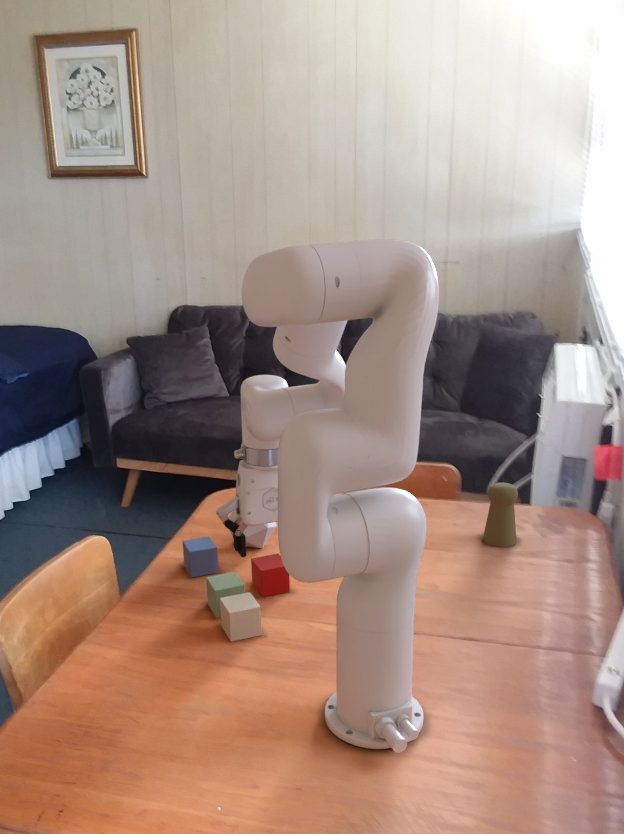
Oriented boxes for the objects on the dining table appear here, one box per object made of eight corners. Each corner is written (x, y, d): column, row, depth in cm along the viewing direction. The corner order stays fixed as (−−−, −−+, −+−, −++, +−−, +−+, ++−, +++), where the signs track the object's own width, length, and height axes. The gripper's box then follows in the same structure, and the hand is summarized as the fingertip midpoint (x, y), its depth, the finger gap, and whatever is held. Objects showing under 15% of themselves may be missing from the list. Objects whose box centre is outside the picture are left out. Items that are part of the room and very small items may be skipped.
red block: (289, 592, 141) (289, 565, 139) (261, 597, 140) (260, 570, 138) (279, 579, 146) (278, 553, 144) (252, 584, 144) (250, 558, 142)
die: (227, 538, 164) (212, 512, 156) (262, 509, 166) (249, 482, 158) (253, 565, 159) (239, 540, 151) (289, 535, 161) (277, 509, 153)
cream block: (261, 635, 129) (260, 606, 127) (230, 642, 127) (229, 613, 126) (251, 619, 133) (249, 591, 131) (221, 626, 132) (219, 597, 130)
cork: (482, 545, 155) (485, 489, 151) (483, 531, 160) (486, 478, 156) (516, 548, 153) (521, 492, 149) (516, 534, 158) (520, 480, 155)
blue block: (218, 572, 149) (217, 547, 147) (191, 577, 147) (189, 552, 146) (210, 560, 153) (209, 536, 152) (184, 565, 152) (182, 540, 150)
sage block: (246, 612, 135) (244, 584, 134) (216, 618, 134) (214, 590, 132) (236, 598, 140) (235, 571, 138) (207, 604, 138) (205, 577, 137)
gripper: (221, 468, 129) (226, 567, 135) (325, 452, 134) (325, 549, 140) (207, 453, 135) (212, 548, 141) (306, 438, 140) (307, 531, 146)
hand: (268, 548), depth 141 cm, fingers open, 9 cm apart
